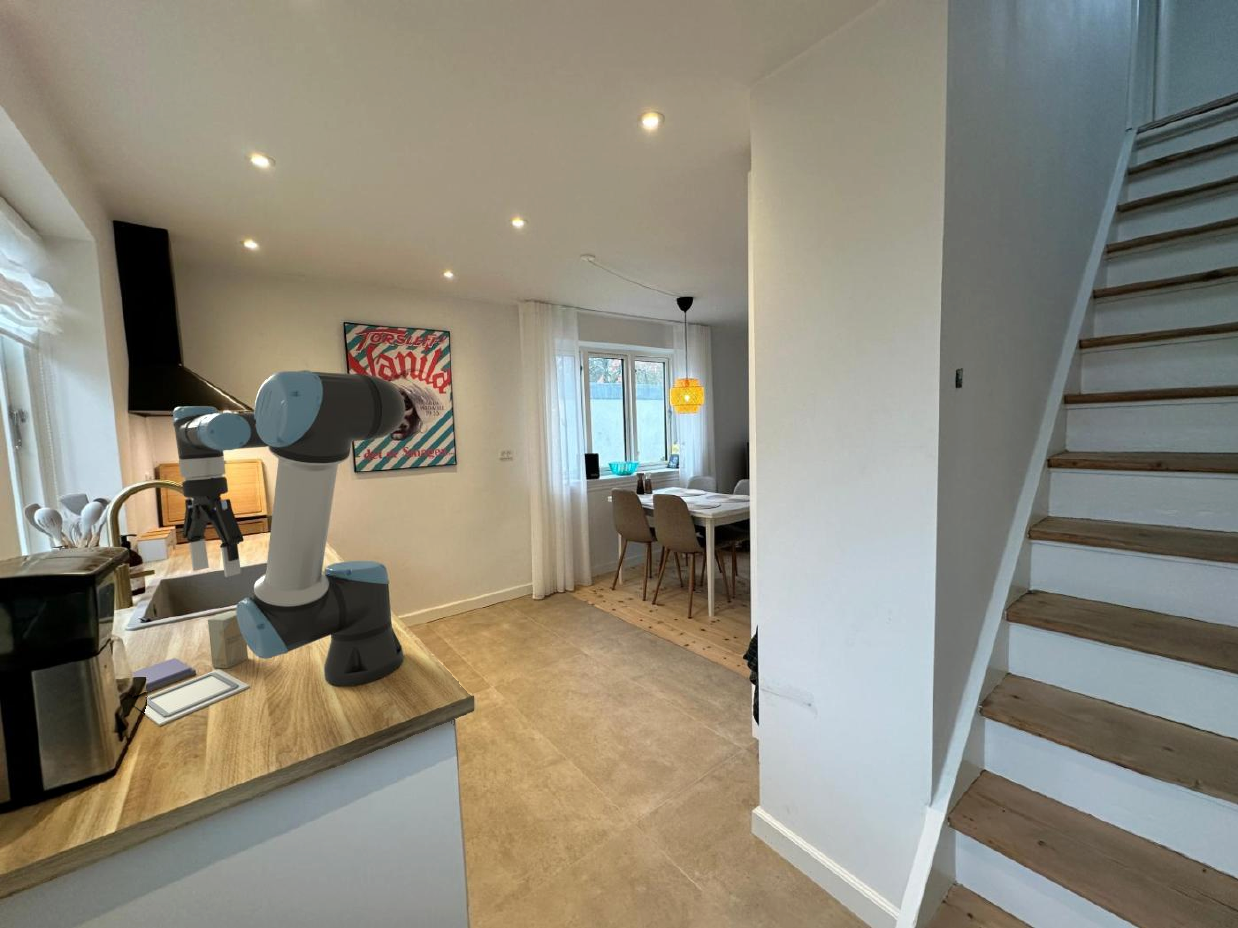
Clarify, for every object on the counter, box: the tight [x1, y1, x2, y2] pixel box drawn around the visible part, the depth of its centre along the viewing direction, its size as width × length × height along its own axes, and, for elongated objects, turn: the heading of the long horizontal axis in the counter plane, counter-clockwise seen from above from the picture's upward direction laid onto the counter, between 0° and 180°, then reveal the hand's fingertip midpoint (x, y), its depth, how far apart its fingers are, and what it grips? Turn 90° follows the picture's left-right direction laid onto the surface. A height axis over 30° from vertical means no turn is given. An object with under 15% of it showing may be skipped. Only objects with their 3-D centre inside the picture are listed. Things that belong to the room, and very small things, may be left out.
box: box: [207, 610, 249, 669], centre depth 110 cm, size 5×4×11 cm
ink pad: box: [131, 657, 197, 693], centre depth 104 cm, size 10×10×2 cm
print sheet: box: [144, 668, 250, 727], centre depth 97 cm, size 14×14×1 cm
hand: (216, 572), depth 109 cm, fingers open, 13 cm apart
